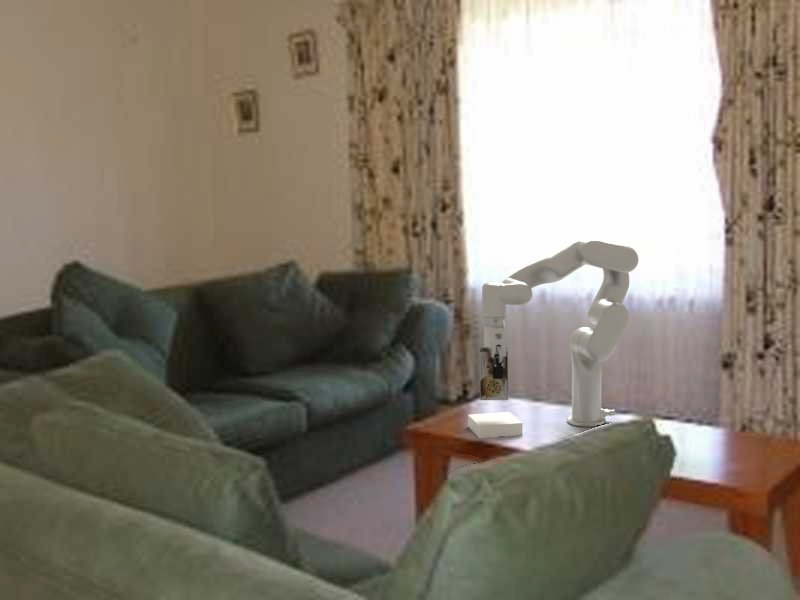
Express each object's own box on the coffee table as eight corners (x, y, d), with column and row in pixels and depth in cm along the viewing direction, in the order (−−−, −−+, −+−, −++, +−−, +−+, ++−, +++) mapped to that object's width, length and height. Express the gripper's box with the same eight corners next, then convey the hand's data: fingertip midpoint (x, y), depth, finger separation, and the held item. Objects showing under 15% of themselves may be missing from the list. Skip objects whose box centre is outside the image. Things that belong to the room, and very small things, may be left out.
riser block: (509, 423, 319) (509, 411, 318) (522, 435, 305) (522, 422, 305) (468, 426, 316) (468, 414, 316) (479, 438, 303) (479, 426, 302)
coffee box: (508, 395, 312) (508, 346, 310) (508, 400, 306) (508, 350, 303) (479, 395, 313) (479, 346, 311) (479, 400, 307) (479, 350, 304)
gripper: (513, 325, 298) (513, 381, 300) (497, 316, 315) (497, 369, 317) (490, 326, 296) (490, 382, 299) (475, 317, 313) (475, 370, 316)
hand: (494, 375), depth 308 cm, fingers closed on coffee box, 7 cm apart
